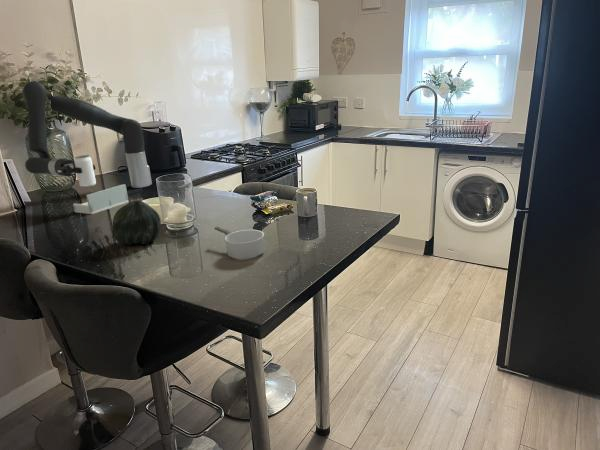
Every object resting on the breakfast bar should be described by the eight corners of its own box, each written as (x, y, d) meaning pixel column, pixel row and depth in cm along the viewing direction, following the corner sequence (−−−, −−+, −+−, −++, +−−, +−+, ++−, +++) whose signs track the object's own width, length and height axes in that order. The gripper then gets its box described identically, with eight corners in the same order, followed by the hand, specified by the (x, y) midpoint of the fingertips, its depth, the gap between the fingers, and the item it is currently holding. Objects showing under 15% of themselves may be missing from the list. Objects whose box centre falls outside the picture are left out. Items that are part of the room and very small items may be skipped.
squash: (112, 221, 153) (106, 195, 141) (158, 216, 158) (156, 190, 146) (116, 258, 147) (110, 234, 134) (164, 251, 152) (163, 227, 139)
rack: (112, 200, 206) (108, 183, 204) (128, 201, 201) (125, 184, 199) (74, 212, 191) (70, 193, 188) (91, 214, 185) (87, 195, 183)
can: (92, 186, 186) (86, 157, 182) (76, 187, 186) (70, 158, 182) (99, 183, 192) (93, 154, 188) (84, 183, 192) (78, 155, 189)
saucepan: (233, 238, 145) (231, 222, 144) (274, 252, 131) (272, 234, 130) (202, 249, 138) (200, 232, 136) (242, 265, 124) (240, 246, 122)
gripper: (44, 161, 187) (69, 163, 178) (75, 155, 198) (100, 156, 190) (48, 179, 189) (74, 181, 181) (79, 172, 201) (104, 174, 193)
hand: (87, 168), depth 186 cm, fingers closed on can, 5 cm apart
